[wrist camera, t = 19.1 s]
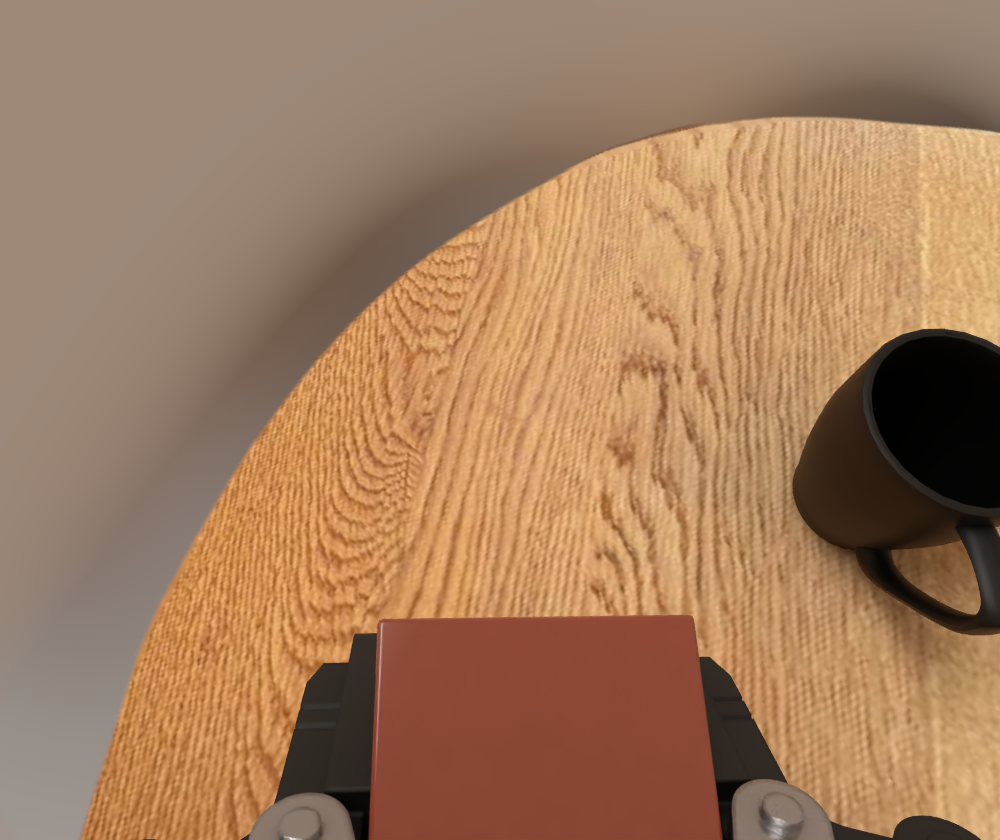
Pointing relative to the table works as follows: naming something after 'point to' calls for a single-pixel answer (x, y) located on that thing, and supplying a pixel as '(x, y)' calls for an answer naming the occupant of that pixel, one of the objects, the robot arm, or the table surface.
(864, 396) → the mug
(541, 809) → the block
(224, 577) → the table surface
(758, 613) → the table surface
